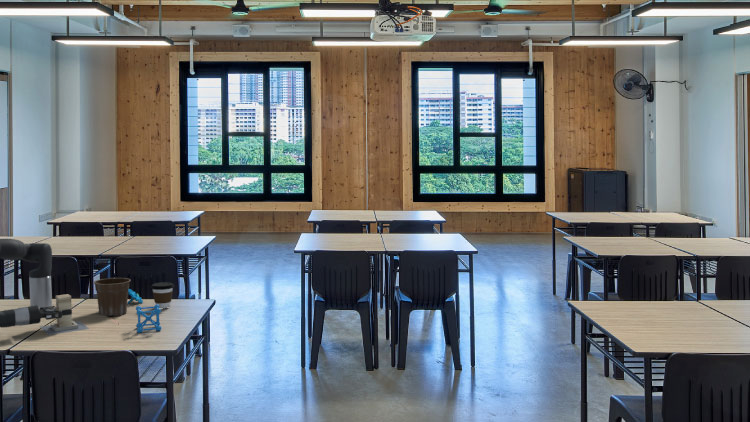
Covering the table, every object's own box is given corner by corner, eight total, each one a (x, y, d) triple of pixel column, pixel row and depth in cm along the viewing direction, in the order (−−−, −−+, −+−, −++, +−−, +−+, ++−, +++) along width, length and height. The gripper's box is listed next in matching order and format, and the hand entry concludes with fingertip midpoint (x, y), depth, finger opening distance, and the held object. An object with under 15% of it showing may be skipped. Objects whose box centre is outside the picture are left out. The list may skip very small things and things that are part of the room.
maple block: (56, 327, 268) (55, 295, 266) (69, 325, 271) (68, 294, 270) (59, 329, 264) (58, 297, 263) (72, 328, 267) (71, 296, 266)
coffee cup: (165, 304, 315) (165, 281, 314) (179, 307, 309) (178, 283, 308) (146, 308, 306) (146, 284, 305) (160, 311, 300) (159, 287, 299)
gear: (141, 302, 312) (126, 288, 311) (132, 311, 311) (118, 297, 310) (146, 300, 323) (132, 287, 322) (138, 308, 322) (124, 295, 321)
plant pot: (110, 308, 305) (109, 276, 304) (138, 311, 301) (137, 278, 300) (86, 316, 290) (85, 282, 288) (116, 319, 286) (115, 285, 284)
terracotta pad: (87, 322, 279) (87, 321, 279) (110, 319, 285) (110, 318, 285) (95, 328, 270) (95, 327, 270) (119, 324, 276) (119, 323, 276)
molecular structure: (136, 327, 272) (135, 305, 271) (159, 325, 276) (159, 303, 275) (137, 333, 263) (136, 310, 262) (161, 331, 267) (161, 308, 266)
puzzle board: (40, 329, 268) (39, 323, 268) (79, 323, 279) (79, 317, 278) (48, 337, 256) (48, 331, 256) (89, 330, 266) (89, 325, 266)
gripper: (29, 310, 252) (73, 304, 262) (22, 303, 263) (65, 298, 273) (30, 328, 252) (74, 321, 263) (23, 321, 263) (65, 315, 274)
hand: (69, 310), depth 268 cm, fingers open, 7 cm apart
